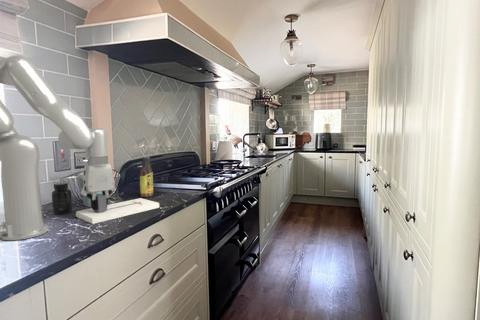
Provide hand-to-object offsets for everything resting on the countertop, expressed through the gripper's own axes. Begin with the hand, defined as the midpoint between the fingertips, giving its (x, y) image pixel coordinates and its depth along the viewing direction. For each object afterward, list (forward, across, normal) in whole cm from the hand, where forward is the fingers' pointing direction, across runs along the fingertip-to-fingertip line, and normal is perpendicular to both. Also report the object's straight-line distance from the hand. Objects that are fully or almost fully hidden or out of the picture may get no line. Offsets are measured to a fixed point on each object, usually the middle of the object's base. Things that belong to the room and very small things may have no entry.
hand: (99, 208), depth 112 cm
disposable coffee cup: (+3, +6, +20) cm, 21 cm away
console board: (+3, +8, 0) cm, 9 cm away
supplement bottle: (+3, -7, +17) cm, 19 cm away
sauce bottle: (+3, +31, +16) cm, 35 cm away
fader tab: (+1, 0, 0) cm, 1 cm away
